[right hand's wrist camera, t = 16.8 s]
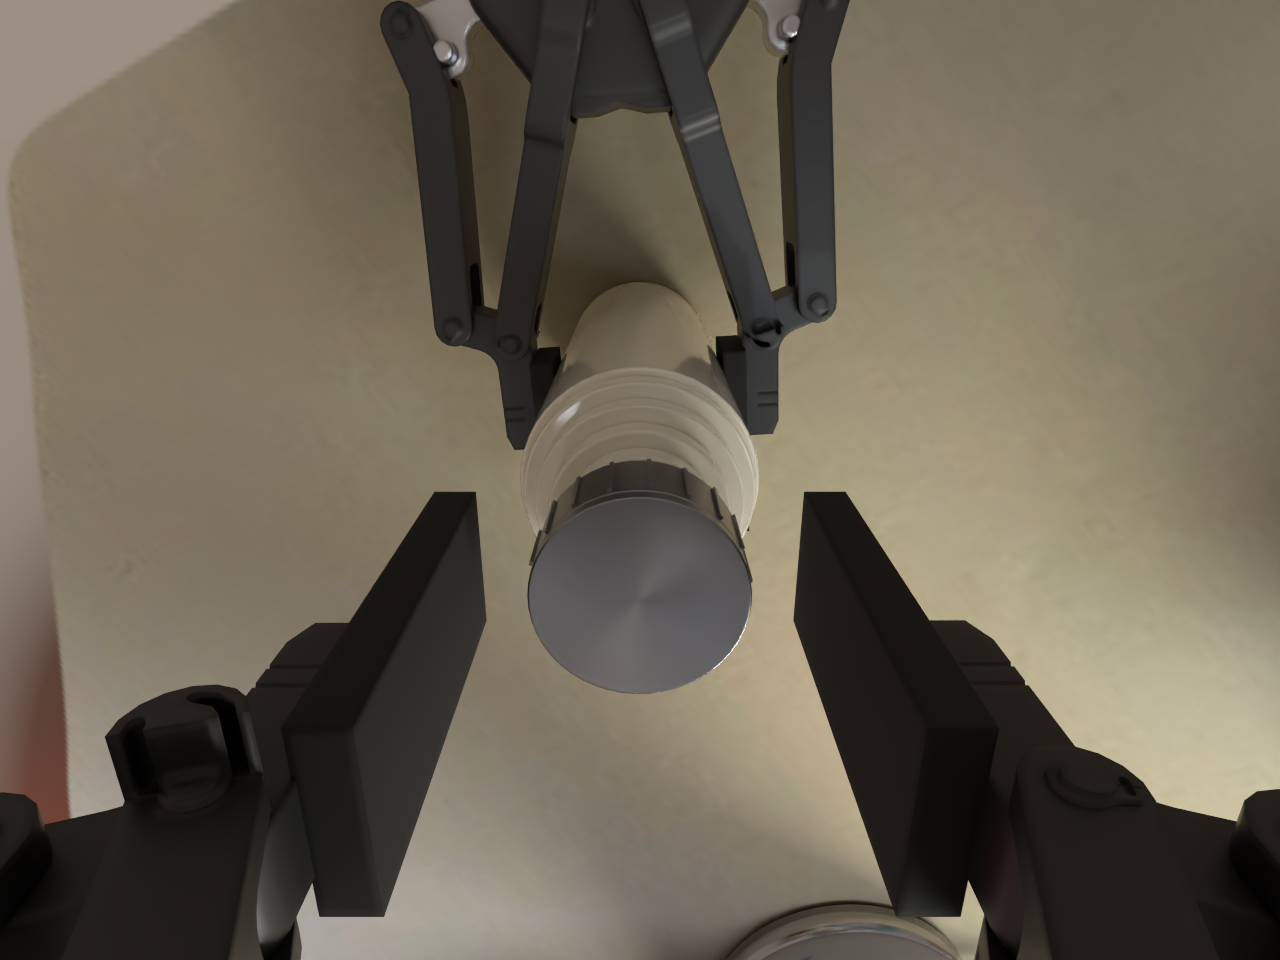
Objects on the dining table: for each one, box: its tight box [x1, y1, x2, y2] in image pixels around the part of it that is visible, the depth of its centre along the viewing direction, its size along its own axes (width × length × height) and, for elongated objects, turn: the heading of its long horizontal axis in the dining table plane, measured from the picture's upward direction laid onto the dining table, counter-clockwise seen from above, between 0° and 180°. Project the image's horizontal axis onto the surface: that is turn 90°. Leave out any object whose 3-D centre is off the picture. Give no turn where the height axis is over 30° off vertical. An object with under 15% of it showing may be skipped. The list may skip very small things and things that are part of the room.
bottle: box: [520, 282, 759, 539], centre depth 23 cm, size 6×6×21 cm
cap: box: [527, 459, 752, 694], centre depth 14 cm, size 4×4×2 cm
